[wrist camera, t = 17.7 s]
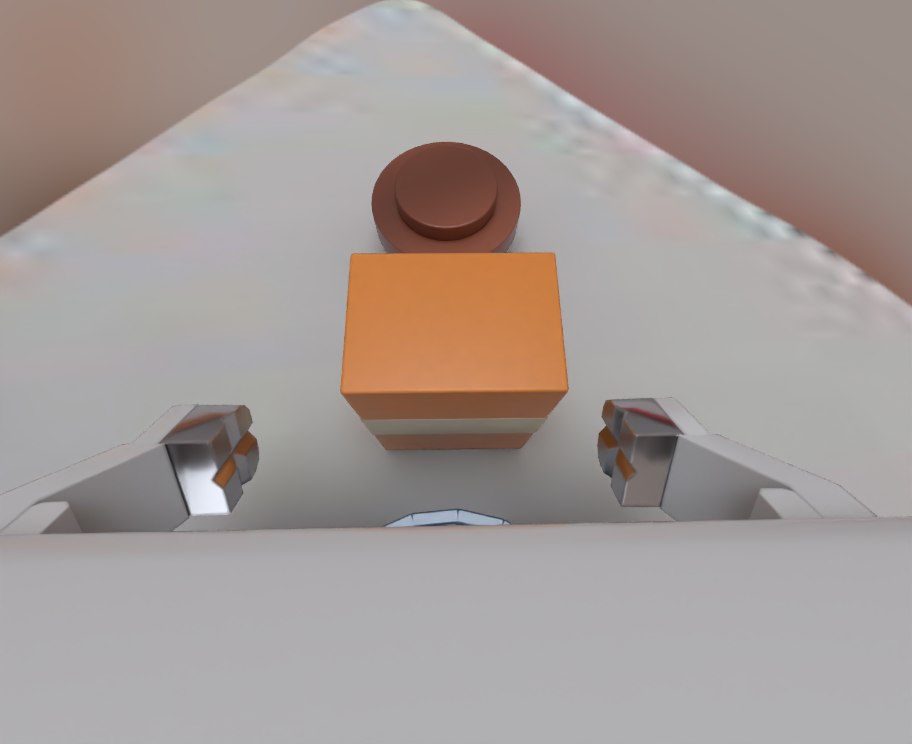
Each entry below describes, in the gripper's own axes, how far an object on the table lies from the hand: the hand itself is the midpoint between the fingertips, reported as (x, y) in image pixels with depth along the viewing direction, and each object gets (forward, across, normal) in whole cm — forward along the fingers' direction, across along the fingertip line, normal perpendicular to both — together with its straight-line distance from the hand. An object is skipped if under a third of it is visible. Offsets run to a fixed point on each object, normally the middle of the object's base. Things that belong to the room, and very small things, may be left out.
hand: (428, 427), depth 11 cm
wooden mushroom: (+13, 0, -2) cm, 13 cm away
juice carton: (+8, -1, +4) cm, 9 cm away
